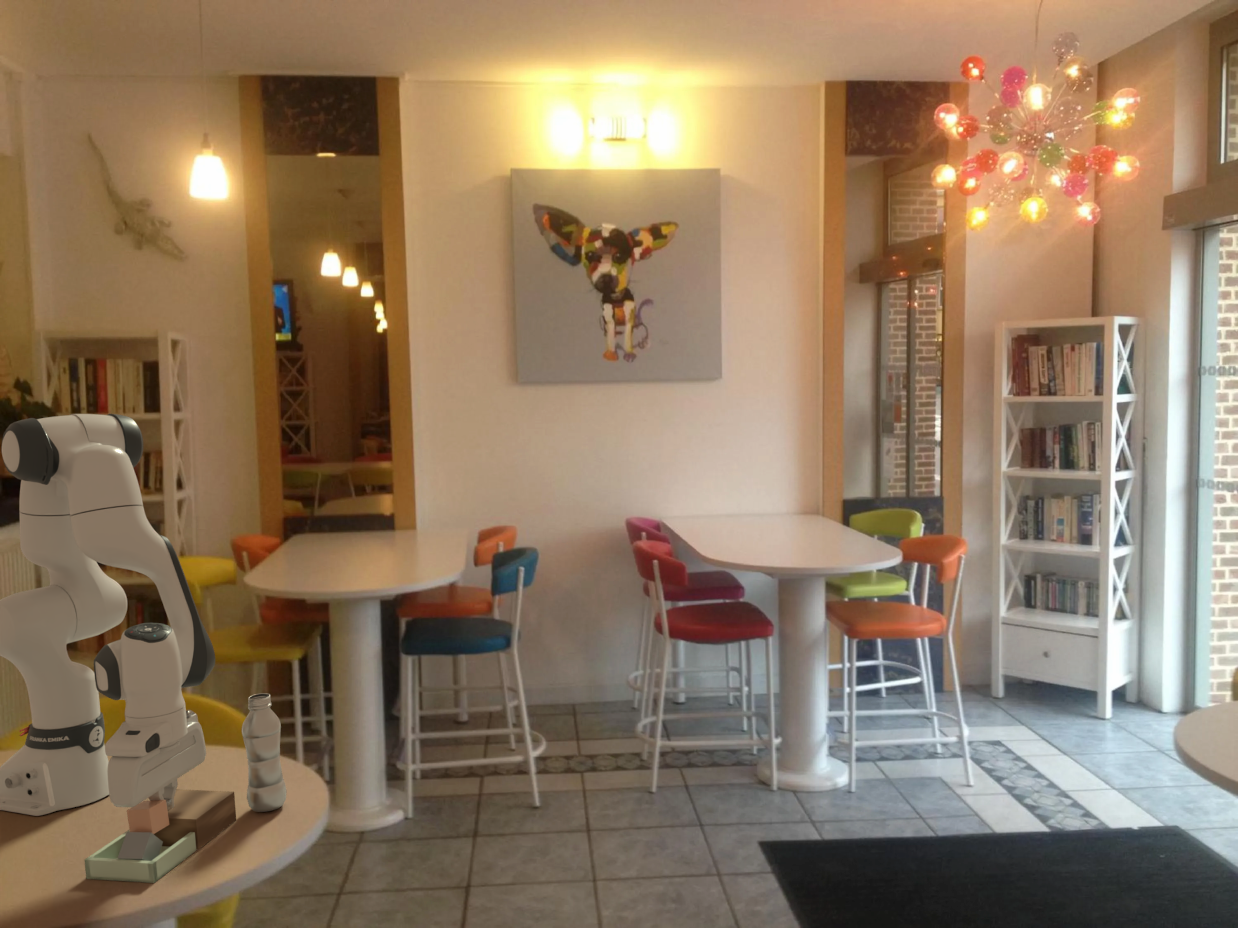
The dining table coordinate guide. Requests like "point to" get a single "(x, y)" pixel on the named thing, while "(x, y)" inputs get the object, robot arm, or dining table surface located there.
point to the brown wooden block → (198, 816)
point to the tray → (137, 861)
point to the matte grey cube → (140, 846)
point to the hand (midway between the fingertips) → (164, 811)
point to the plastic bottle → (263, 755)
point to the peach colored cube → (148, 816)
